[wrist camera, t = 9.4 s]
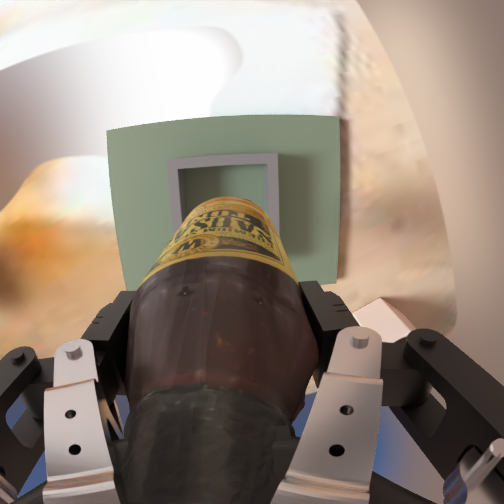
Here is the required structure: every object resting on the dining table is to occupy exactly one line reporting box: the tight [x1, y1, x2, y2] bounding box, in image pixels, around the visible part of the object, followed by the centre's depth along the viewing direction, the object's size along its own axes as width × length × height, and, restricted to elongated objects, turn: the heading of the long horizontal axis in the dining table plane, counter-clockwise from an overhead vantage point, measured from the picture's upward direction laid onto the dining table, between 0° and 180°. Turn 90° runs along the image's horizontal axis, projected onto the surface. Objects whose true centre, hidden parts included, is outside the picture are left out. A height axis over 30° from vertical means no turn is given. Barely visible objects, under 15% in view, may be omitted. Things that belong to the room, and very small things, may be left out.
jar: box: [352, 298, 416, 343], centre depth 36 cm, size 9×8×12 cm
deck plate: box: [107, 115, 340, 291], centre depth 32 cm, size 26×20×6 cm
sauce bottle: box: [120, 196, 319, 504], centre depth 11 cm, size 6×6×20 cm
